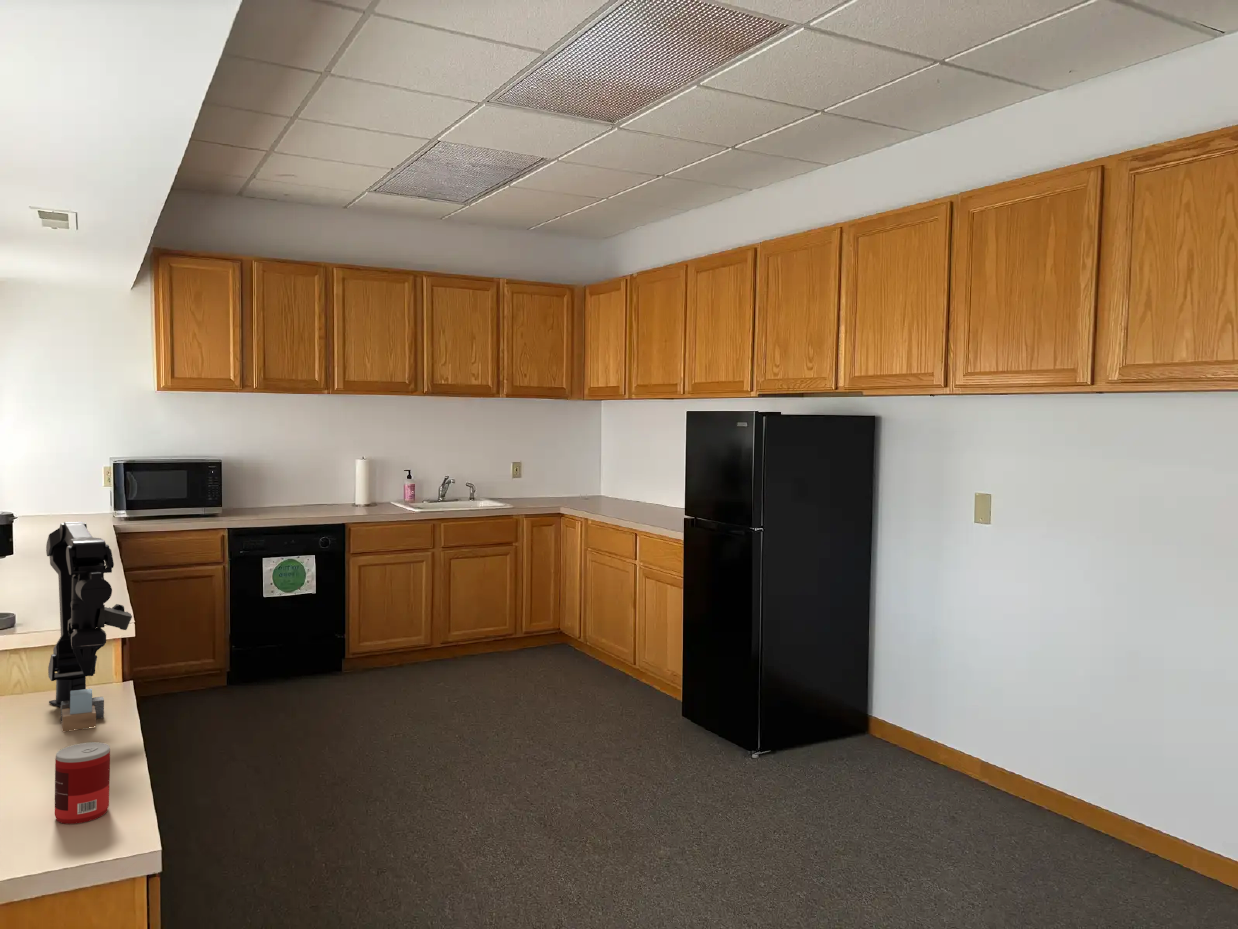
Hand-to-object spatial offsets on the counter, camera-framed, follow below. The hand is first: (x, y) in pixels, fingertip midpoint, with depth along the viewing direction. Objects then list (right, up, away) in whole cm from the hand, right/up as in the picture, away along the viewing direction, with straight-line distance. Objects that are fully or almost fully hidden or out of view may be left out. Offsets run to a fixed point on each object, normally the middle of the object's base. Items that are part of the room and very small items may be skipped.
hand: (85, 669), depth 192 cm
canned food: (+25, -15, -43) cm, 52 cm away
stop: (-3, -12, +4) cm, 13 cm away
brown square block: (-1, -12, 0) cm, 12 cm away
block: (-1, -9, 0) cm, 9 cm away
